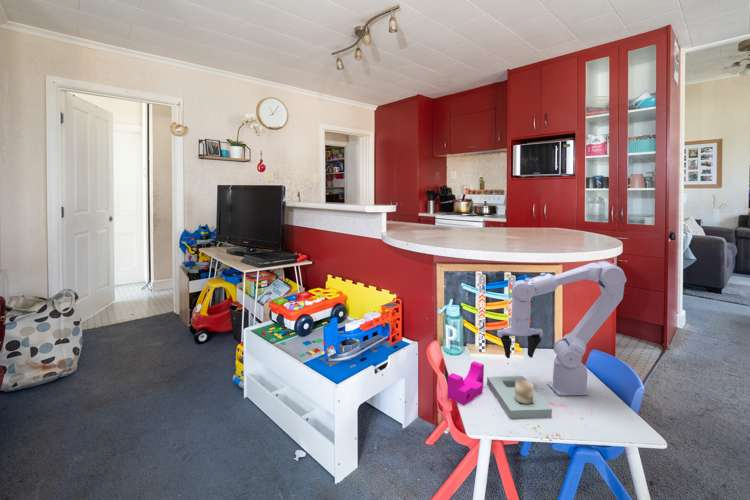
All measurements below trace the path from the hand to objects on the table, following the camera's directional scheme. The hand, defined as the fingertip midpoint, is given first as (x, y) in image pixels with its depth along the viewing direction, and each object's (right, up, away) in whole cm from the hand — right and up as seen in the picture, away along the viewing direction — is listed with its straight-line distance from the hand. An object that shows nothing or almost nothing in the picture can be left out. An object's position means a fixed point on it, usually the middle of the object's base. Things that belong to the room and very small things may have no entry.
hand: (518, 356), depth 126 cm
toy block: (-17, -11, -3) cm, 21 cm away
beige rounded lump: (-3, -12, -12) cm, 17 cm away
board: (-4, -11, -8) cm, 14 cm away
